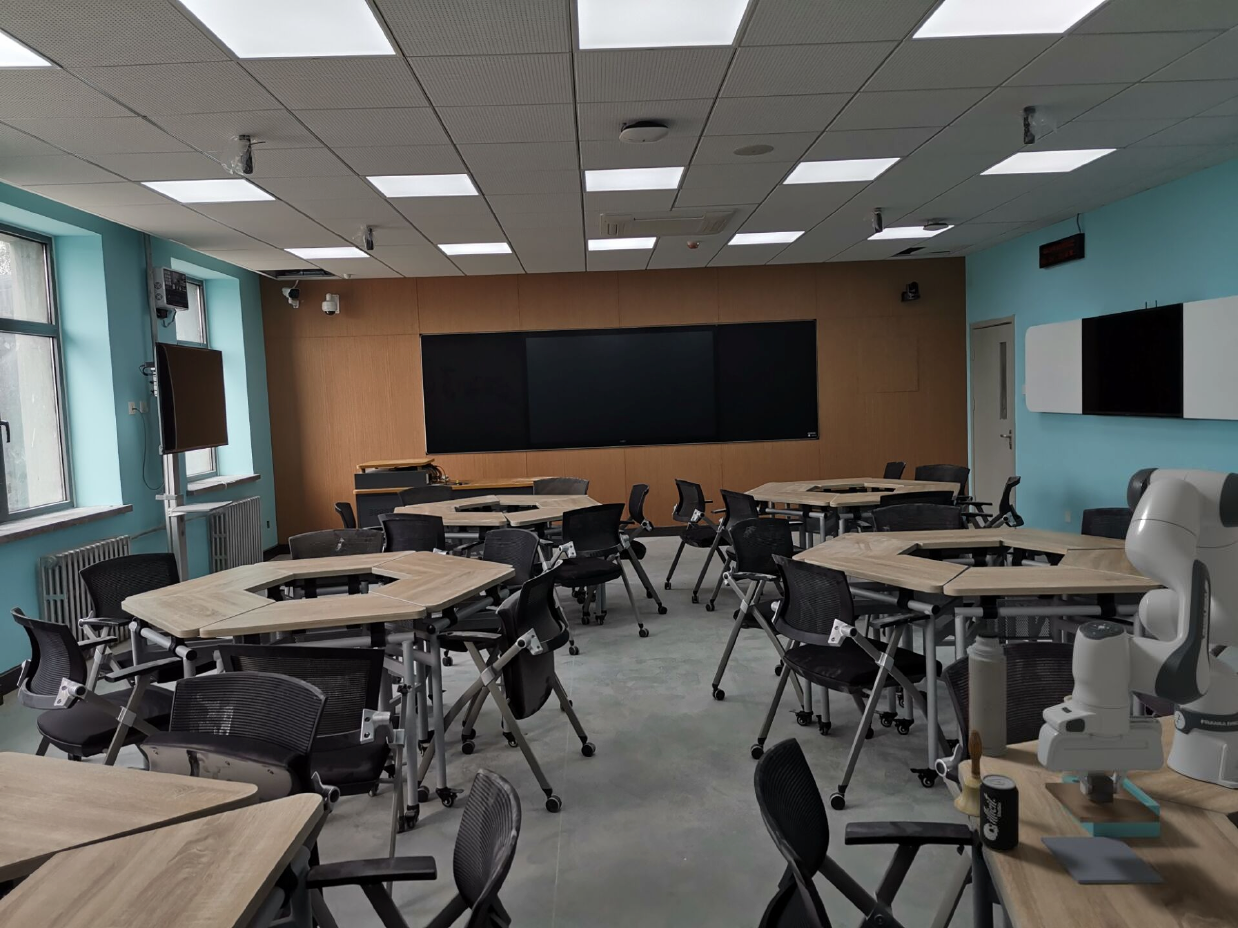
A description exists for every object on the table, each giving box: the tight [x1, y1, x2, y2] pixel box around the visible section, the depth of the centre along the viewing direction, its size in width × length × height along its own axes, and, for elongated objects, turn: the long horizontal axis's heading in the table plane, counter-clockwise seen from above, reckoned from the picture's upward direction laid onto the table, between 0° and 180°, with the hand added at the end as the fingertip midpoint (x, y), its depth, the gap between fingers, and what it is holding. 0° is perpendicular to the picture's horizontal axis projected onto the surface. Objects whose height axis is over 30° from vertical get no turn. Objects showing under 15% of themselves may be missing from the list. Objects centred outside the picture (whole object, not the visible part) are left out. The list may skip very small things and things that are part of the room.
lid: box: [1044, 772, 1161, 823], centre depth 149 cm, size 13×13×5 cm
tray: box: [1040, 836, 1164, 884], centre depth 150 cm, size 14×14×1 cm
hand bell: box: [953, 730, 983, 818], centre depth 170 cm, size 8×8×16 cm
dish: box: [1061, 776, 1161, 838], centre depth 163 cm, size 12×12×6 cm
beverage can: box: [979, 773, 1020, 852], centre depth 156 cm, size 7×7×12 cm
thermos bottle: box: [968, 629, 1007, 758], centre depth 196 cm, size 8×8×28 cm
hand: (1099, 792), depth 149 cm, fingers closed on lid, 3 cm apart
